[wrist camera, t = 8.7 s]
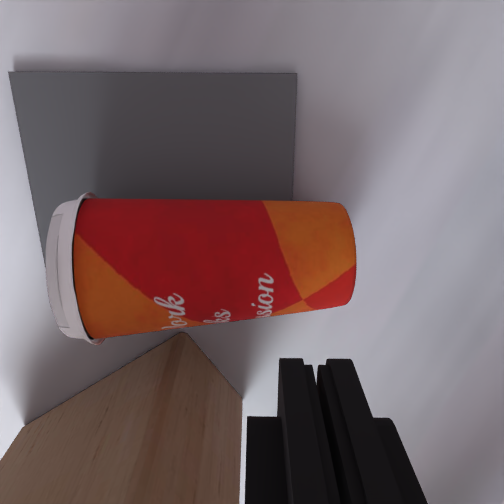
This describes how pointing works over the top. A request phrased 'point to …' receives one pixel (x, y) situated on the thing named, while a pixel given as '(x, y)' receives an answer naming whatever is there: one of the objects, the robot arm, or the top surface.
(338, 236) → the paper cup
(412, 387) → the top surface
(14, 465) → the decorative block
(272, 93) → the mat
